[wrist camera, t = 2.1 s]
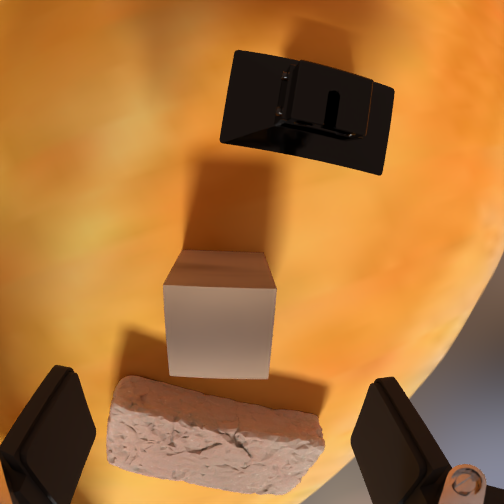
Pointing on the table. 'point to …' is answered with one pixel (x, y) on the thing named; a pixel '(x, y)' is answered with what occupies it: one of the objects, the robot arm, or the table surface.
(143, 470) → the brick
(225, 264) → the brown wooden block
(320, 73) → the black piece
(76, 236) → the table surface
